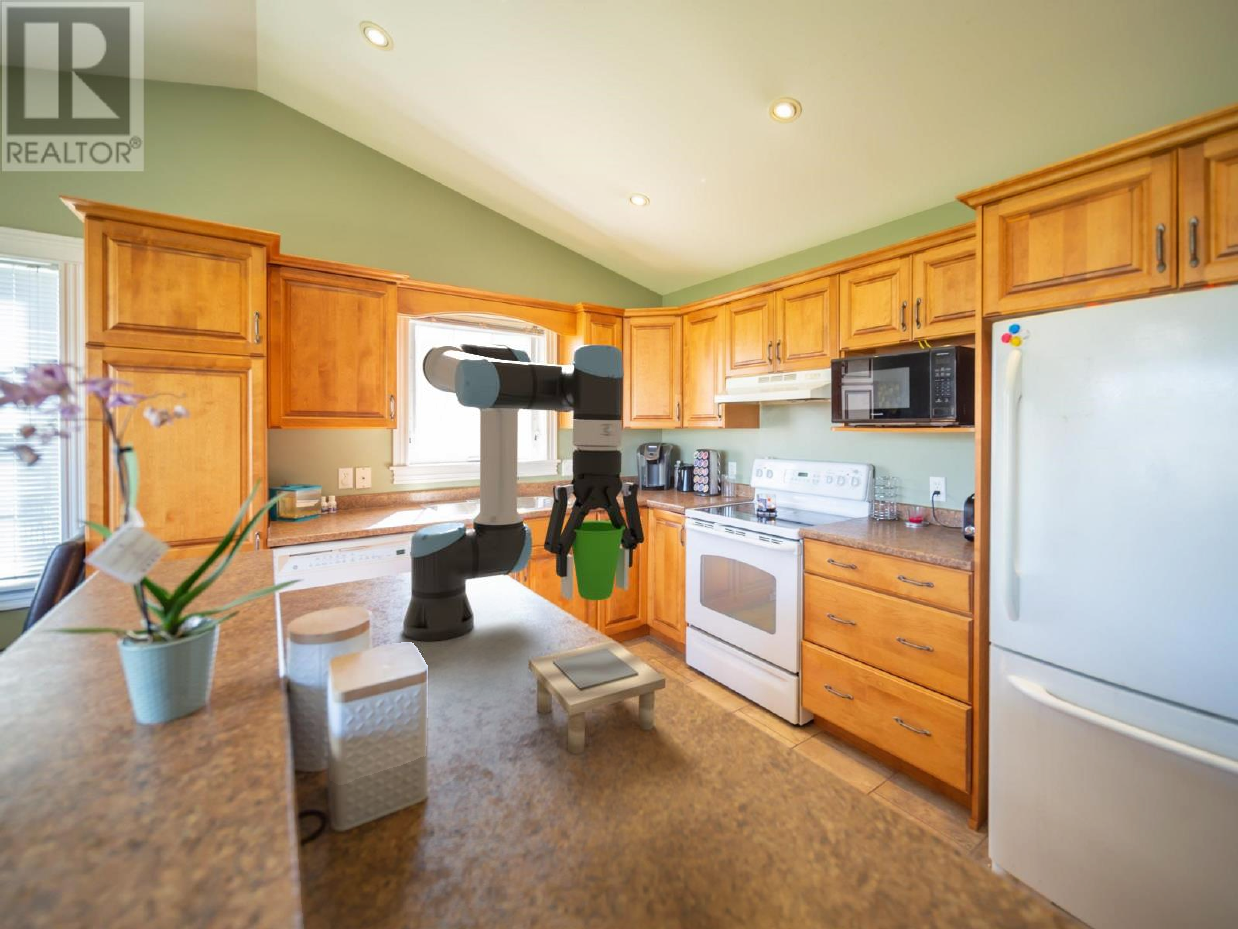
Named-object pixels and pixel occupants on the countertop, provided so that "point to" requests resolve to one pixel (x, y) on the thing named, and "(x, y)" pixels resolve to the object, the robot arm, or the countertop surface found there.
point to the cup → (596, 558)
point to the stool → (594, 684)
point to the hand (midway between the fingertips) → (595, 592)
